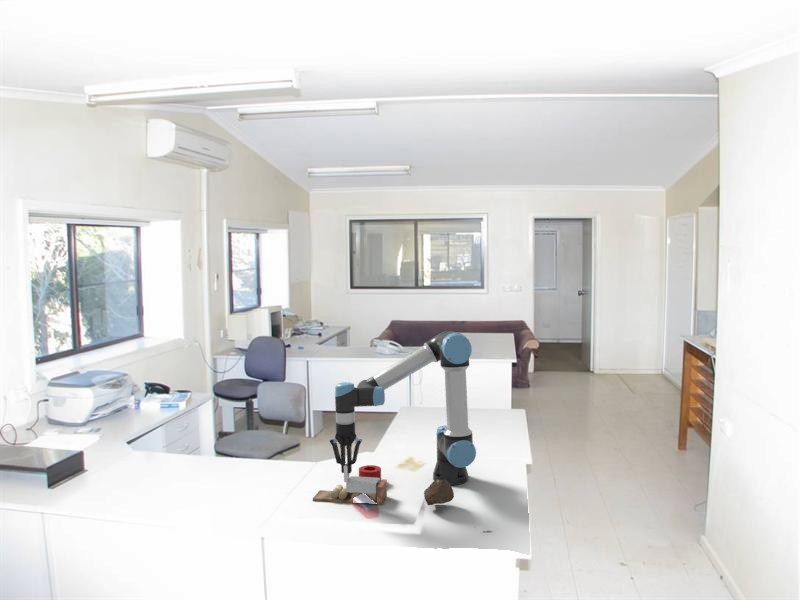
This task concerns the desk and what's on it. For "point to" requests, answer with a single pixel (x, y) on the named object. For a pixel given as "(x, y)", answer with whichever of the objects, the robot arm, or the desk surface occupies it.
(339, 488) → the roller
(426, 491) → the rock
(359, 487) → the slab
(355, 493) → the roller
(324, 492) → the board
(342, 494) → the cylinder
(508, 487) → the desk surface
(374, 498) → the roller
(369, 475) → the lever
